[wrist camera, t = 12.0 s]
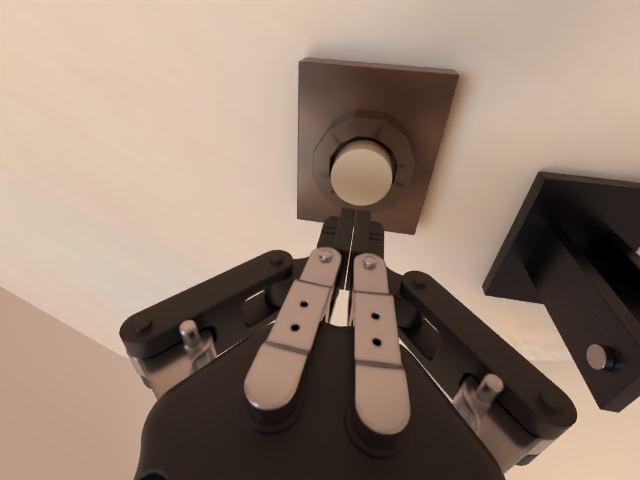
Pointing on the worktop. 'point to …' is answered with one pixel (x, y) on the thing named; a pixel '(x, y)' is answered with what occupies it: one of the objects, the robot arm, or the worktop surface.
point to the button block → (370, 133)
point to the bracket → (581, 275)
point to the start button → (362, 173)
